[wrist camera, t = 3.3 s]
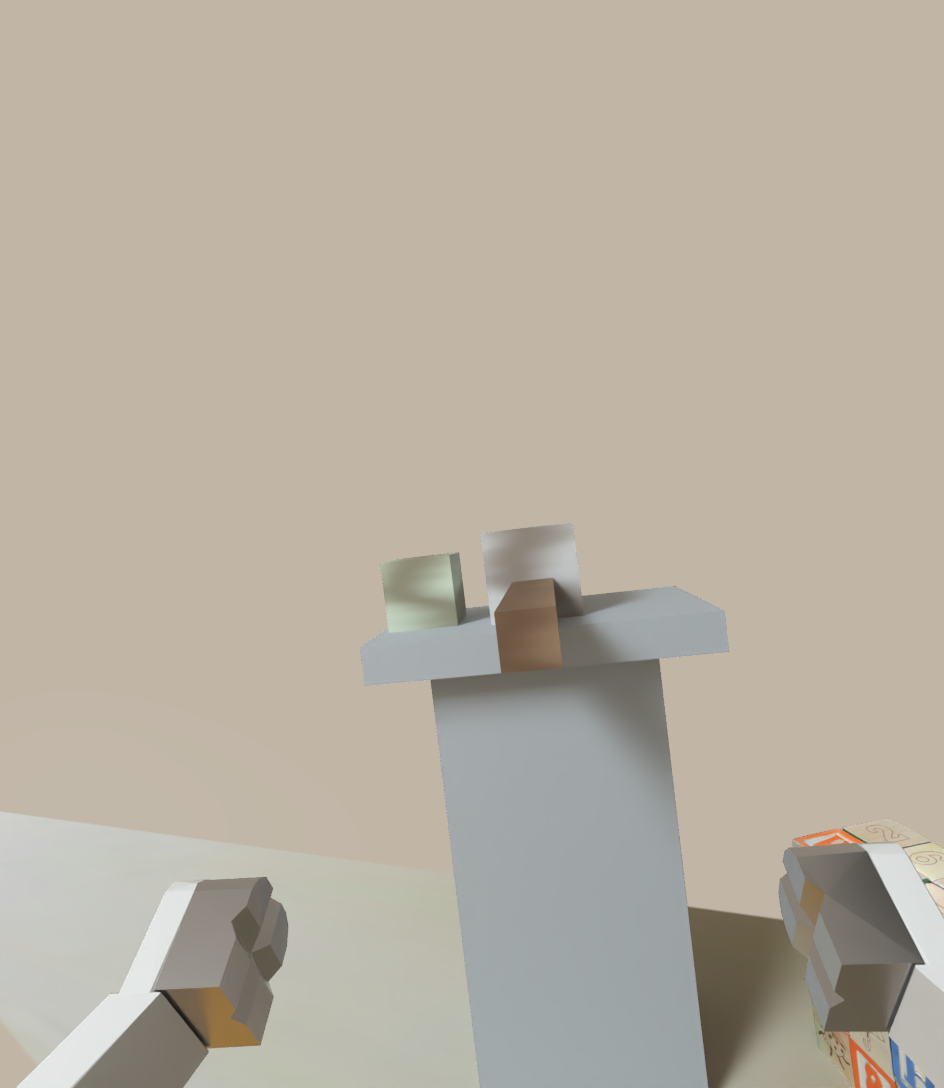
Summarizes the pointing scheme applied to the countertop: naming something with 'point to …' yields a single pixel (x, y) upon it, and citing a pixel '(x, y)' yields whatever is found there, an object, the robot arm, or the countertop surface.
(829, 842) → the stack of blocks
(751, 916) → the countertop surface
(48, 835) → the countertop surface
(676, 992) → the grey pedestal
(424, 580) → the sage cube
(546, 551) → the steel-headed mallet
